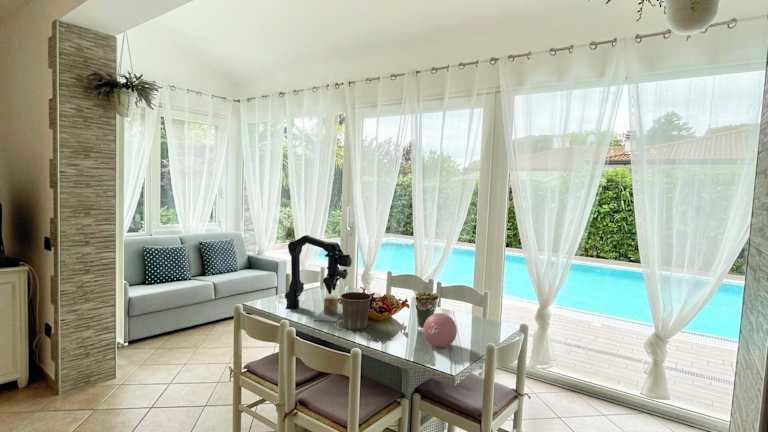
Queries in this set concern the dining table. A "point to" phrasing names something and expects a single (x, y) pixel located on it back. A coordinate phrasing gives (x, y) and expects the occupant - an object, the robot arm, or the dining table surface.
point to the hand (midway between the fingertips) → (332, 292)
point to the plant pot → (355, 310)
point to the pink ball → (440, 330)
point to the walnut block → (331, 305)
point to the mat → (328, 317)
